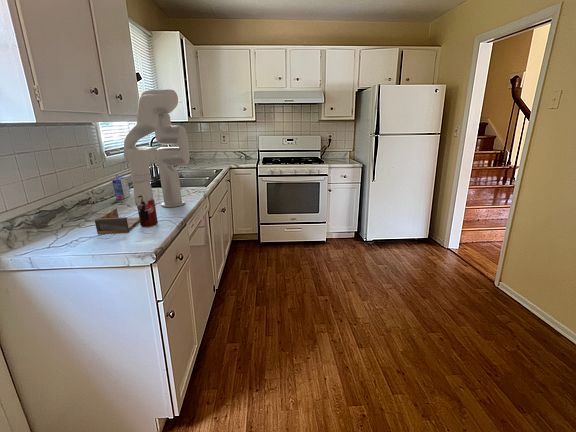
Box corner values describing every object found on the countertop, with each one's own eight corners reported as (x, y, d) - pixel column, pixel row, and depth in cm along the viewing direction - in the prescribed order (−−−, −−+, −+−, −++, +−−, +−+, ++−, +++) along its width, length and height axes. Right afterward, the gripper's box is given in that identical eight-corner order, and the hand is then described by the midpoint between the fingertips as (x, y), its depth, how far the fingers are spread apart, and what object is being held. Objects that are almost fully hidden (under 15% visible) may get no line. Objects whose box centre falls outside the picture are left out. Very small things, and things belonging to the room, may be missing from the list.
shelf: (116, 221, 145) (113, 208, 143) (142, 219, 146) (140, 206, 144) (97, 234, 128) (94, 219, 126) (127, 232, 129) (125, 218, 127)
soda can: (154, 227, 134) (149, 201, 131) (137, 228, 134) (132, 201, 131) (160, 222, 141) (156, 197, 138) (145, 222, 141) (140, 197, 138)
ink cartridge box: (121, 196, 198) (117, 173, 193) (130, 195, 198) (126, 173, 194) (115, 199, 188) (110, 176, 184) (125, 199, 189) (120, 175, 185)
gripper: (139, 175, 139) (145, 212, 145) (124, 182, 123) (132, 224, 128) (156, 174, 140) (162, 211, 145) (143, 181, 124) (150, 222, 129)
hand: (148, 217), depth 137 cm, fingers closed on soda can, 7 cm apart
